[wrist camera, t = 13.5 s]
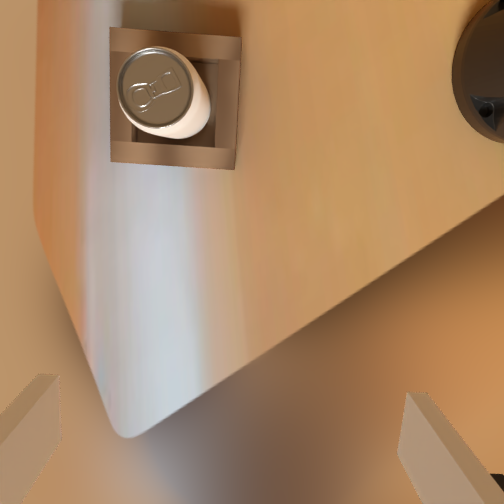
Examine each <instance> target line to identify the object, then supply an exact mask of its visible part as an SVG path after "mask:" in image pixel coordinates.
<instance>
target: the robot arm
mask: <svg viewBox="0 0 504 504" xmlns="http://www.w3.org/2000/svg"><path fill="white" fill-rule="evenodd" d="M452 84H453V91H454V96H455V99H456V102H457V105H458V107H459V109H460V111H461V113H462V115H463V116H464V118H465V119H466V121H467V122H468V123H469V124H470V125H471V126H472V127H473V128H474V129H475V130H476V131H477V132H479V133H480V134H481V135H483V136H485V137H486V138H489V139H491V140H493V141H496V142H500V143H504V0H492V1H490V2H489V3H488V4H486V5H485V6H484V7H483V8H482V9H481V10H480V11H479V12H478V13H477V14H476V15H475V16H474V18H473V19H472V20H471V21H470V23H469V24H468V26H467V27H466V29H465V31H464V33H463V34H462V36H461V39H460V41H459V43H458V46H457V49H456V52H455V56H454V61H453V68H452ZM61 440H62V433H61V408H60V381H59V375H53V374H38V375H37V376H36V377H35V378H34V379H33V380H32V381H31V382H30V383H29V384H28V386H26V388H25V389H24V390H23V391H22V392H21V393H20V394H19V395H18V396H17V397H16V398H15V399H14V400H13V402H12V403H11V404H10V405H9V406H8V407H7V408H6V409H5V410H4V411H3V412H2V413H1V414H0V504H21V503H22V502H23V500H24V498H25V497H26V495H27V494H28V492H29V491H30V489H31V487H32V486H33V484H34V483H35V481H36V479H37V478H38V476H39V475H40V473H41V472H42V470H43V469H44V467H45V465H46V464H47V462H48V460H49V459H50V457H51V456H52V454H53V453H54V451H55V450H56V448H57V446H58V445H59V443H60V442H61ZM397 455H398V457H399V459H400V461H401V463H402V465H403V467H404V469H405V471H406V472H407V474H408V476H409V478H410V480H411V482H412V484H413V486H414V488H415V490H416V492H417V494H418V496H419V498H420V500H421V502H422V503H423V504H504V475H503V474H489V472H488V471H487V470H486V468H485V467H484V466H483V465H482V463H481V462H480V461H479V459H478V458H477V457H476V456H475V454H474V453H473V452H472V450H471V449H470V448H469V447H468V445H467V444H466V443H465V441H464V440H463V439H462V437H461V436H460V435H459V433H458V432H457V431H456V430H455V428H454V427H453V426H452V424H451V423H450V422H449V420H448V419H447V418H446V417H445V415H444V414H443V413H442V411H441V410H440V409H439V408H438V406H437V405H436V404H435V402H434V401H433V400H432V398H431V397H430V396H429V395H428V393H424V392H423V393H422V392H407V397H406V403H405V409H404V415H403V422H402V428H401V433H400V440H399V445H398V452H397Z"/></svg>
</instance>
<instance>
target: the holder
mask: <svg viewBox="0 0 504 504" xmlns="http://www.w3.org/2000/svg"><path fill="white" fill-rule="evenodd" d="M154 46H160V47H166V48H170V49H172V50H175V51H177V52H178V53H180V54H181V55H183V56H184V57H185V58H186V59H187V60H188V61H189V62H190V63H191V64H192V65H193V67H194V68H195V70H196V71H197V73H198V75H199V76H200V78H201V80H202V82H203V83H204V85H205V87H206V89H207V91H208V93H209V97H210V101H211V111H210V116H209V119H208V121H207V123H206V125H205V126H204V127H203V129H202V130H201V131H200V132H198V133H197V134H195V135H194V136H192V137H189V138H185V139H174V138H168V137H163V136H158V135H154V134H150V133H147V132H145V131H143V130H141V129H139V128H138V127H136V126H135V125H134V124H133V123H132V122H131V121H130V120H129V119H128V118H127V117H126V115H125V114H124V112H123V110H122V108H121V106H120V103H119V100H118V95H117V88H116V83H117V76H118V73H119V70H120V68H121V66H122V64H123V63H124V61H125V60H126V59H127V58H128V57H129V56H130V55H131V54H132V53H134V52H136V51H138V50H140V49H143V48H147V47H154ZM241 48H242V40H241V37H231V36H218V35H205V34H192V33H179V32H167V31H154V30H141V29H128V28H115V27H110V145H111V162H121V163H136V164H151V165H166V166H181V167H196V168H211V169H226V170H234V169H235V155H236V137H237V119H238V101H239V84H240V66H241Z"/></svg>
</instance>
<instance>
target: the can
mask: <svg viewBox="0 0 504 504" xmlns="http://www.w3.org/2000/svg"><path fill="white" fill-rule="evenodd" d="M116 88H117V95H118V100H119V103H120V106H121V108H122V110H123V112H124V114H125V115H126V117H127V118H128V119H129V120H130V121H131V122H132V123H133V124H134V125H135V126H136V127H138V128H139V129H141V130H143V131H145V132H147V133H150V134H154V135H158V136H163V137H168V138H174V139H185V138H189V137H192V136H194V135H195V134H197V133H198V132H200V131H201V130H202V129H203V127H204V126H205V125H206V123H207V121H208V119H209V116H210V111H211V101H210V97H209V93H208V91H207V89H206V87H205V85H204V83H203V82H202V80H201V78H200V76H199V75H198V73H197V71H196V70H195V68H194V67H193V65H192V64H191V63H190V62H189V61H188V60H187V59H186V58H185V57H184V56H183V55H181V54H180V53H178V52H177V51H175V50H172V49H170V48H166V47H160V46H154V47H147V48H143V49H140V50H138V51H136V52H134V53H132V54H131V55H130V56H129V57H128V58H127V59H126V60H125V61H124V63H123V64H122V66H121V68H120V70H119V73H118V76H117V83H116Z"/></svg>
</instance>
